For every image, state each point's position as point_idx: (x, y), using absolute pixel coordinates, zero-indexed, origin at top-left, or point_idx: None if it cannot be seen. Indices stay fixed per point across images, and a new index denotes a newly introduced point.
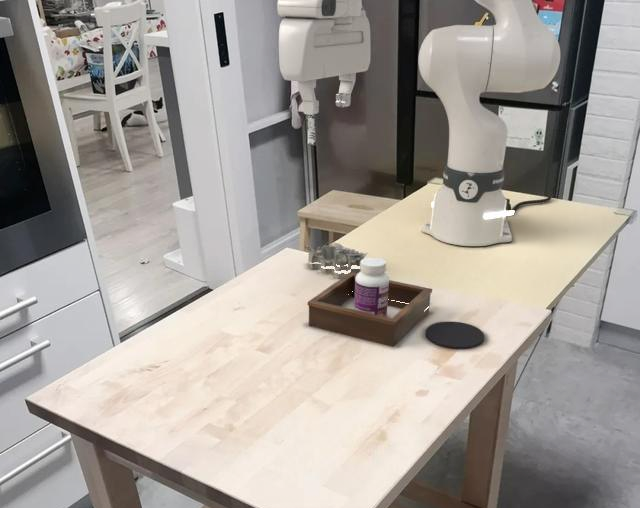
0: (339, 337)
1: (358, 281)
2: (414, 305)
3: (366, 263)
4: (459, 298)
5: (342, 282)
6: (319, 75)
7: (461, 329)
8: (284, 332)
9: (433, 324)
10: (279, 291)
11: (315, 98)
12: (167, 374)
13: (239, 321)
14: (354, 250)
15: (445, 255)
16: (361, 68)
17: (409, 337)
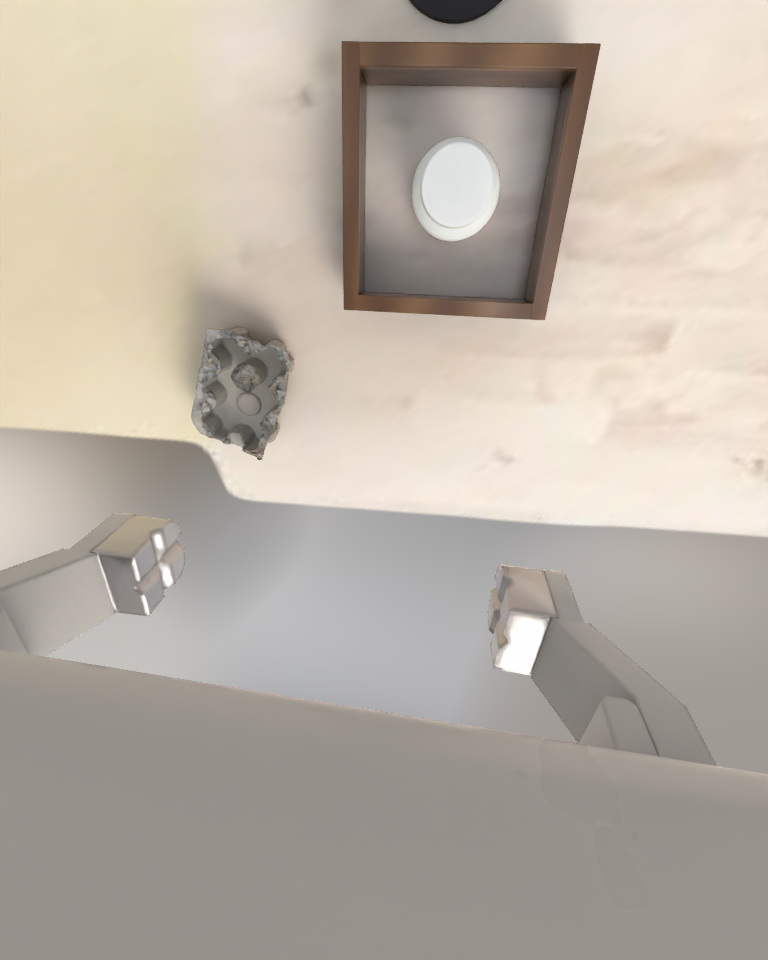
0: None
1: (490, 217)
2: (470, 43)
3: (481, 197)
4: (231, 19)
5: (409, 298)
6: (681, 783)
7: None
8: (574, 340)
9: (431, 11)
10: (403, 431)
11: (568, 631)
12: None
13: (554, 432)
14: (201, 368)
15: (14, 186)
16: None
17: None
